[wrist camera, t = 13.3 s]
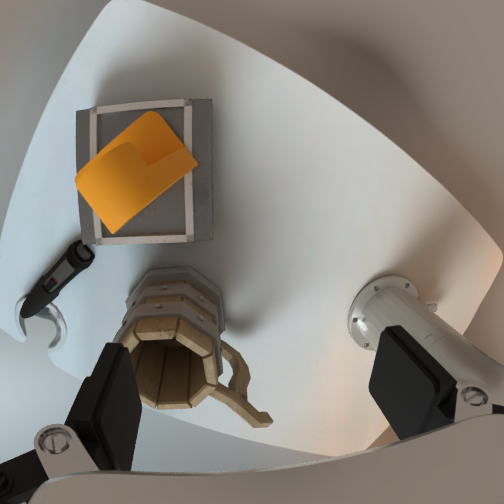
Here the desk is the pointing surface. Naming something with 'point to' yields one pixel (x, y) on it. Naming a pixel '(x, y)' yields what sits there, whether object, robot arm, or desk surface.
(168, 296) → the tankard
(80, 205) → the grey square tray
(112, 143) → the bracket
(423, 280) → the desk surface
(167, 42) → the desk surface
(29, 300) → the electric trimmer
